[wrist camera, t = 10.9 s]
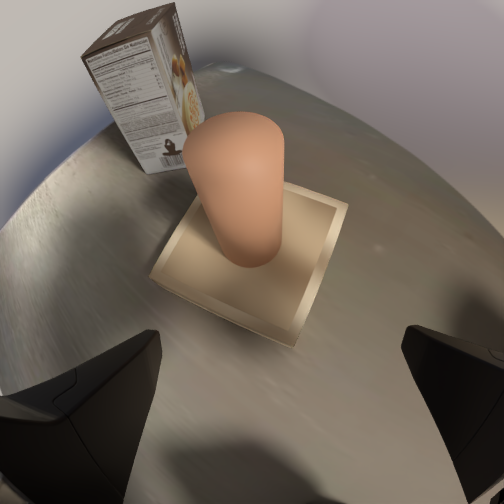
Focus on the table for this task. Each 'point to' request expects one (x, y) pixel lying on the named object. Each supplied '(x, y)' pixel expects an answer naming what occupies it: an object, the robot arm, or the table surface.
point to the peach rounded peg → (240, 183)
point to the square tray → (259, 278)
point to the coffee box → (148, 85)
